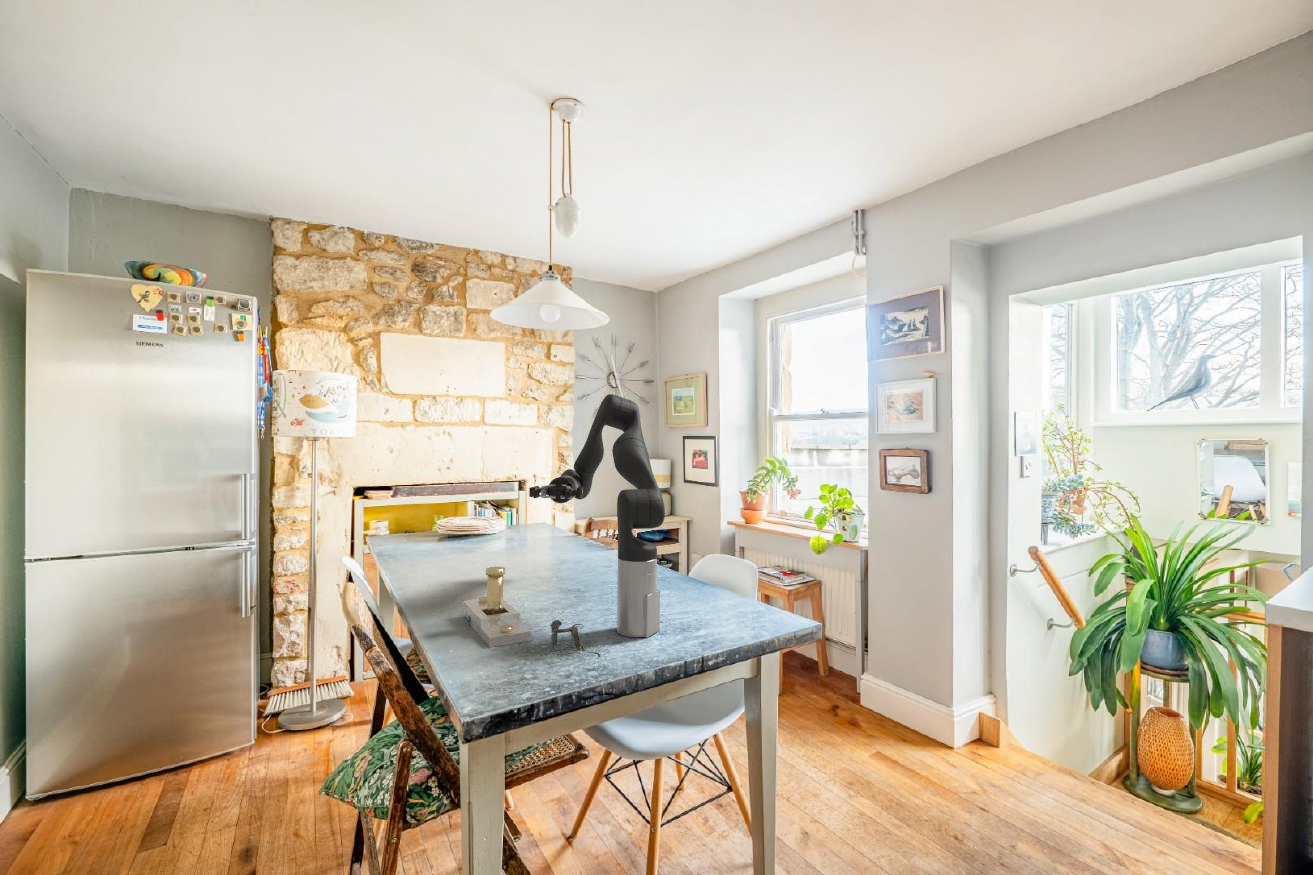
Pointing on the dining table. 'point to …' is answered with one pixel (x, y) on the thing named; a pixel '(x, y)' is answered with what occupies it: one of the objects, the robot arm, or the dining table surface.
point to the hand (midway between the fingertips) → (550, 494)
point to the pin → (495, 590)
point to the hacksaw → (573, 628)
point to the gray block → (496, 623)
